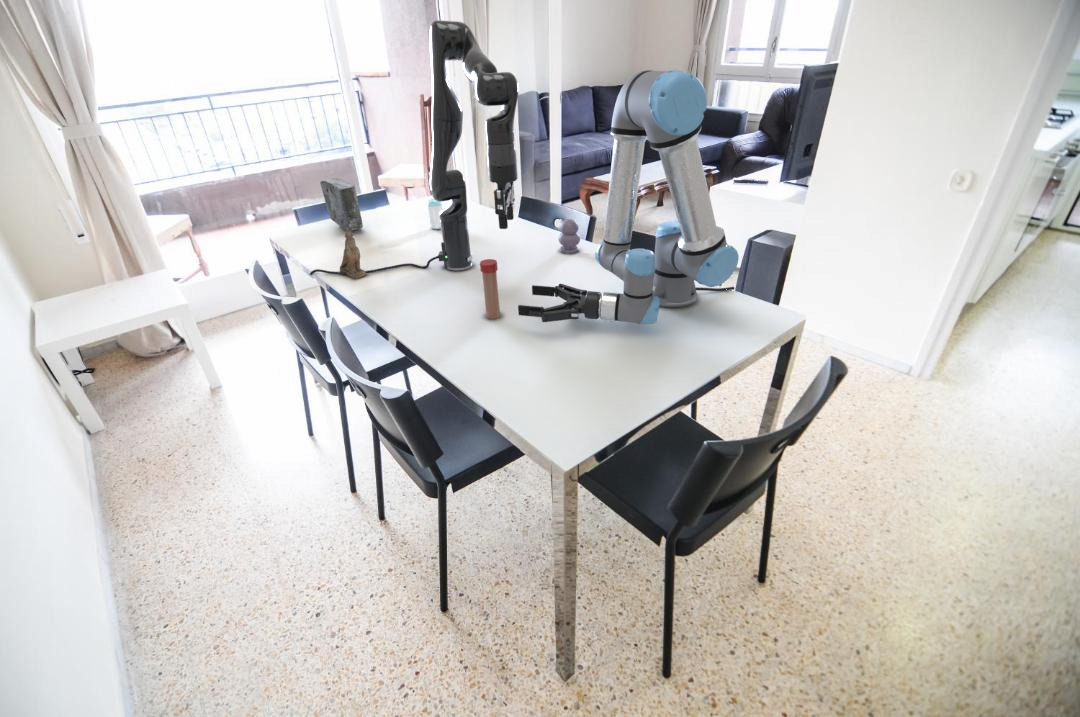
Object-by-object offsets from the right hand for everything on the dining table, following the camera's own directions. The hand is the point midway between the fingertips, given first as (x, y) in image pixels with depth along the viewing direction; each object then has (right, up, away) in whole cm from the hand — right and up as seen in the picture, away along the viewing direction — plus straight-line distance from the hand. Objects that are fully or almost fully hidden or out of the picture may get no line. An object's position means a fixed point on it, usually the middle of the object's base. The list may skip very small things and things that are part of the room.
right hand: (525, 299), depth 140 cm
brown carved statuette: (-63, +14, +39) cm, 76 cm away
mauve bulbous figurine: (+15, +25, +52) cm, 59 cm away
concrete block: (-84, +43, +87) cm, 128 cm away
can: (-42, +42, +84) cm, 102 cm away
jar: (-10, -4, +6) cm, 12 cm away
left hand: (-5, +20, -3) cm, 21 cm away
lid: (-10, +10, -3) cm, 14 cm away
